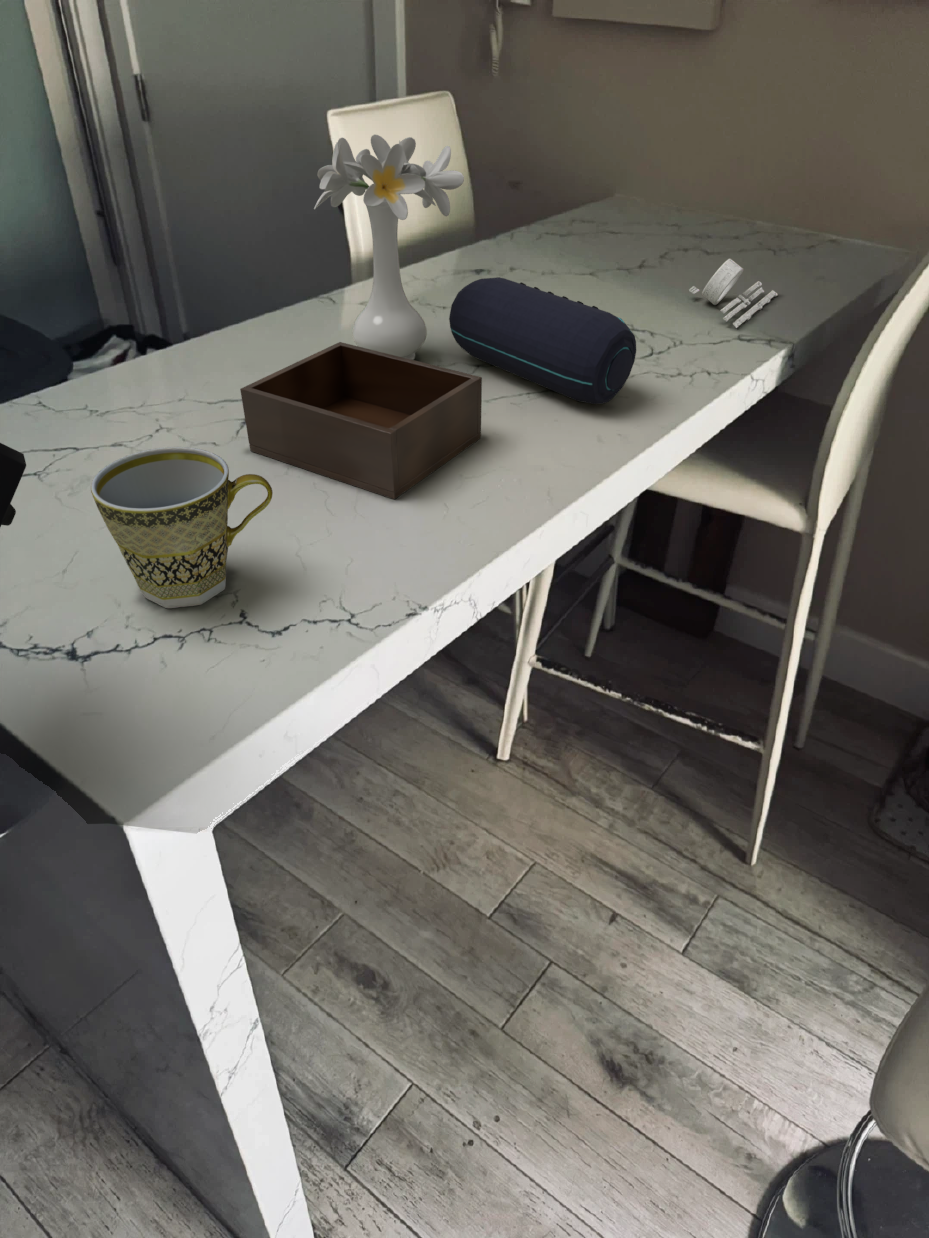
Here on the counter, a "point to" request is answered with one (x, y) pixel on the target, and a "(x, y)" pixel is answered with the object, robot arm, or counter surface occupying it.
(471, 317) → the portable speaker
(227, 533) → the ceramic cup
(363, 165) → the flower vase
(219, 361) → the counter surface
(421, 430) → the crate
